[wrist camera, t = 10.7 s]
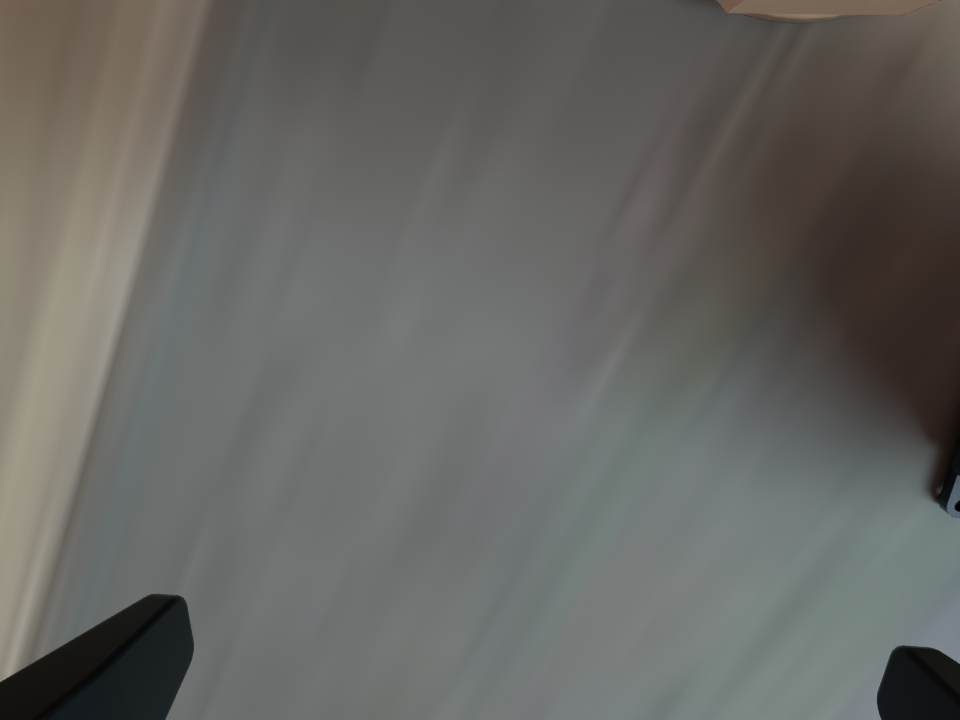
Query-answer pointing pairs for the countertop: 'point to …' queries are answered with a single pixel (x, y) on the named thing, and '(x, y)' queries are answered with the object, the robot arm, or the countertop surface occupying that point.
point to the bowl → (819, 8)
